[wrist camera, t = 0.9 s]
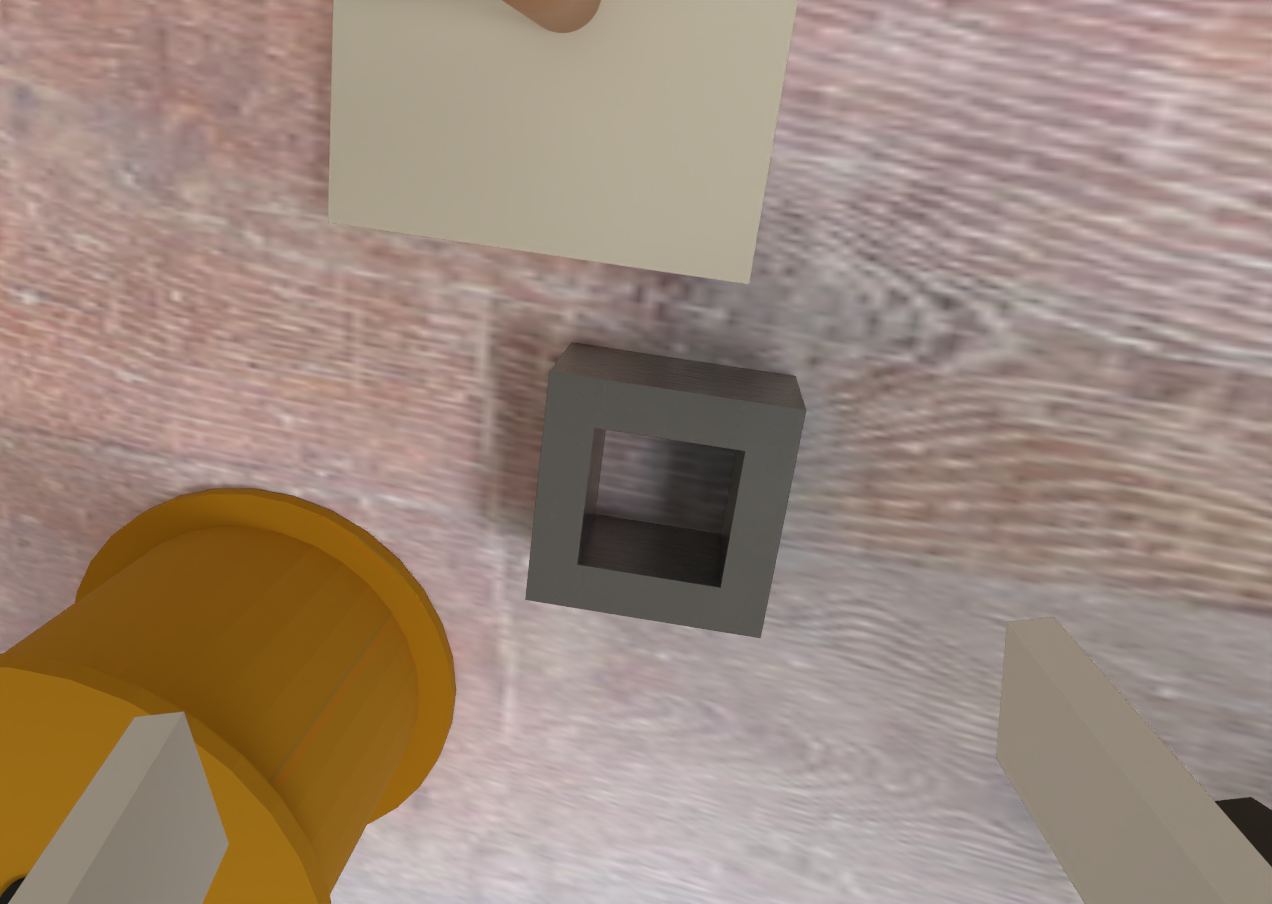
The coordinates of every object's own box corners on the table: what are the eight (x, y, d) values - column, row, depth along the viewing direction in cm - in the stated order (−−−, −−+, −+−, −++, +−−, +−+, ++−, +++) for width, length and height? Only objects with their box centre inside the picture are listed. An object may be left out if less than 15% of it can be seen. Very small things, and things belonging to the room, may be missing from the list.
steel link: (795, 376, 37) (805, 410, 32) (755, 579, 40) (760, 638, 35) (571, 342, 37) (549, 370, 32) (549, 546, 40) (525, 599, 35)
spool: (455, 847, 46) (333, 1163, 31) (104, 803, 47) (-165, 1090, 33) (458, 508, 40) (311, 707, 26) (59, 468, 41) (-293, 637, 27)
